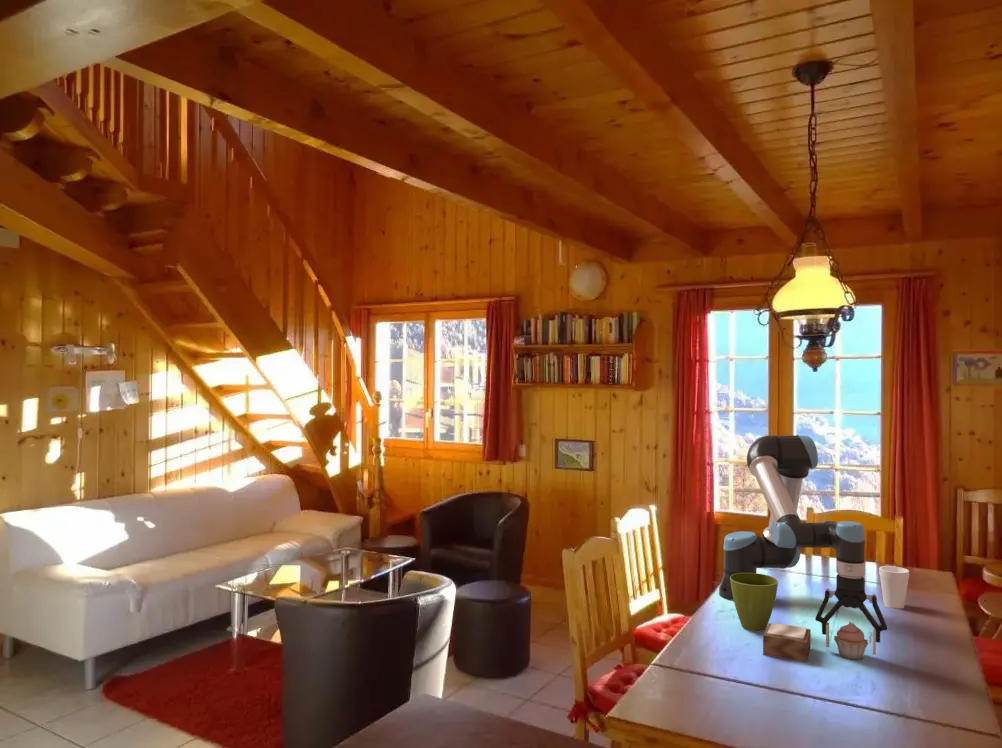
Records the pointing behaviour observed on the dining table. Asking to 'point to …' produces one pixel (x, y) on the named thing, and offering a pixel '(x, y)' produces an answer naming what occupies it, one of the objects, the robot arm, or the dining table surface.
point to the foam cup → (894, 585)
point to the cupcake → (851, 641)
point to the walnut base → (787, 641)
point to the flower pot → (754, 599)
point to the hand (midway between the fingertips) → (850, 649)
